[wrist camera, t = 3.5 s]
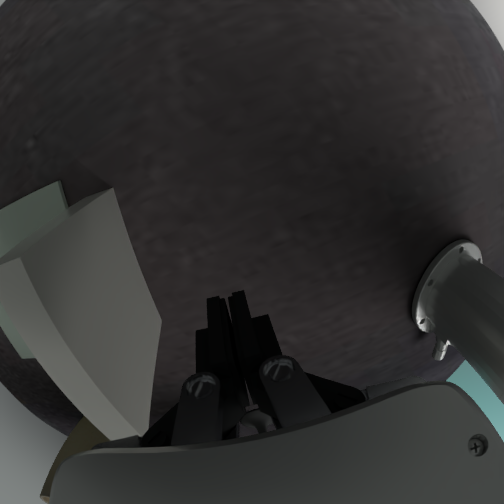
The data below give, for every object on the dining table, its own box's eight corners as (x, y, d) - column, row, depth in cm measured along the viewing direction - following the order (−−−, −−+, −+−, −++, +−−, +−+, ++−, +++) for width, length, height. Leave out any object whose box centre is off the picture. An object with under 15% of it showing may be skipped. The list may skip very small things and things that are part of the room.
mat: (129, 344, 23) (128, 347, 23) (23, 356, 22) (22, 358, 22) (60, 179, 17) (57, 181, 16) (-39, 234, 16) (-42, 236, 15)
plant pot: (194, 432, 31) (203, 535, 17) (115, 444, 31) (108, 529, 17) (125, 369, 25) (104, 510, 10) (46, 389, 25) (16, 487, 11)
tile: (161, 320, 23) (147, 441, 12) (135, 325, 23) (109, 441, 12) (113, 187, 18) (19, 257, 7) (83, 197, 18) (-17, 272, 7)
